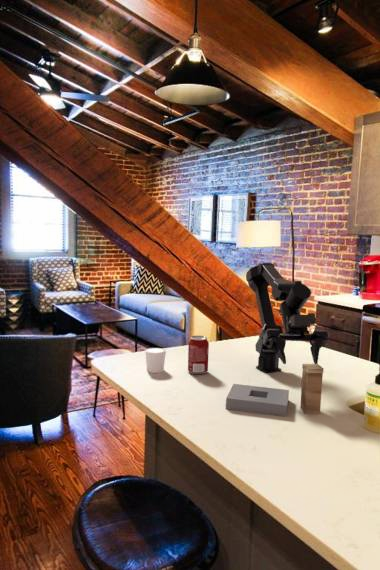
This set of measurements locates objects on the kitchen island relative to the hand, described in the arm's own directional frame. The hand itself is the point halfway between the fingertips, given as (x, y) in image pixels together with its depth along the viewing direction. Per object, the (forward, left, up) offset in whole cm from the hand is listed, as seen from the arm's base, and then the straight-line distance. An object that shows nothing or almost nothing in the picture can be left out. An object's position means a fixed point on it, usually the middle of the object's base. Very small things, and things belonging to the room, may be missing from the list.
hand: (300, 363), depth 130 cm
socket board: (+13, -2, -11) cm, 17 cm away
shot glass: (+26, -42, -11) cm, 50 cm away
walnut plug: (+3, +8, -11) cm, 13 cm away
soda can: (+14, -34, -11) cm, 38 cm away
